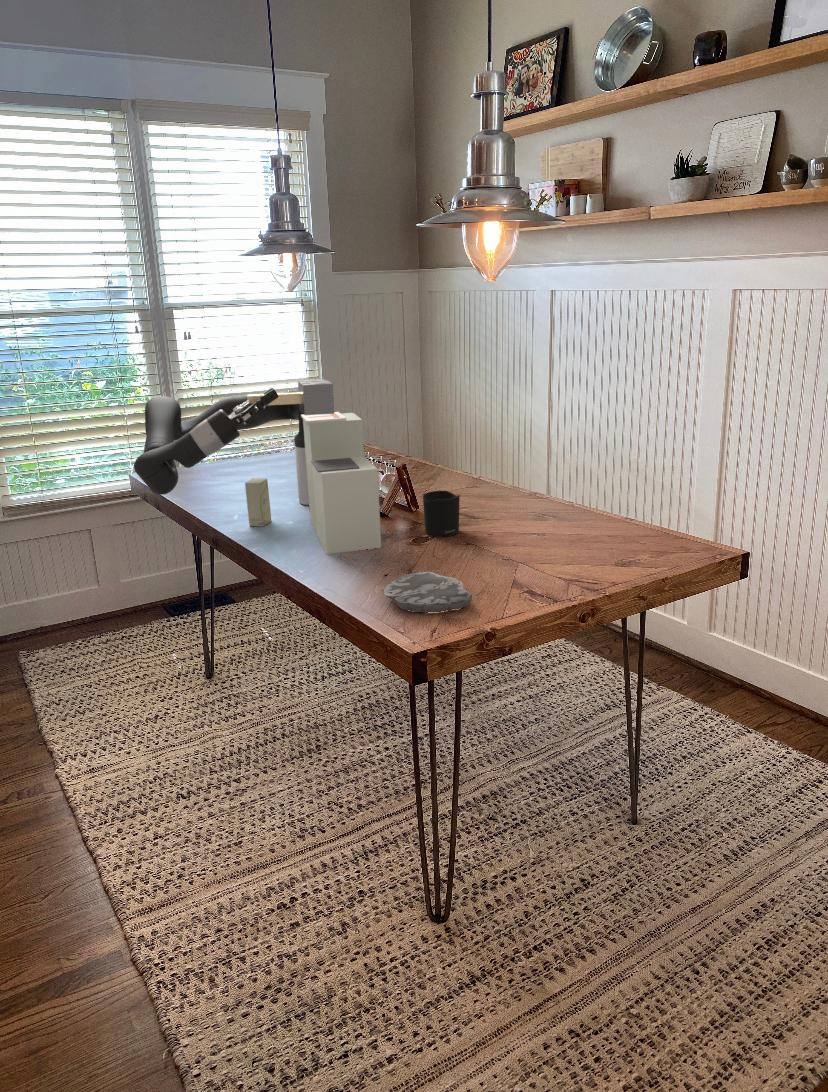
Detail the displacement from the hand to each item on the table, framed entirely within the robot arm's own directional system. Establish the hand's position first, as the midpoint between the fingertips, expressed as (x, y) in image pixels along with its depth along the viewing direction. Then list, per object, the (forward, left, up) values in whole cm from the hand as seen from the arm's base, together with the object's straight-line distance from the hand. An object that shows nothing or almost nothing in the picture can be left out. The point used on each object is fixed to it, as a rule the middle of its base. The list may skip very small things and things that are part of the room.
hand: (275, 392), depth 201 cm
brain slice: (+16, +49, -39) cm, 65 cm away
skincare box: (-15, -21, -39) cm, 47 cm away
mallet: (-2, +2, -5) cm, 6 cm away
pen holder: (-28, +29, -39) cm, 56 cm away
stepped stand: (-15, +6, -39) cm, 42 cm away
